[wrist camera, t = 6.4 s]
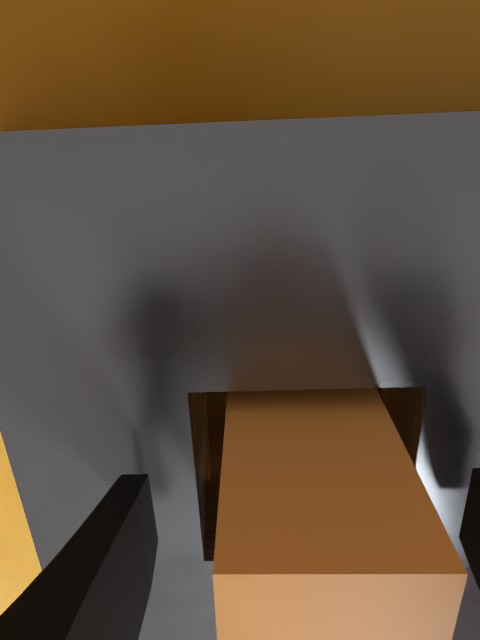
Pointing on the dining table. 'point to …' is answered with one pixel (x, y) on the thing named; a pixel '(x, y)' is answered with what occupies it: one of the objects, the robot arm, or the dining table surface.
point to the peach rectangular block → (327, 525)
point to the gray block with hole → (231, 312)
